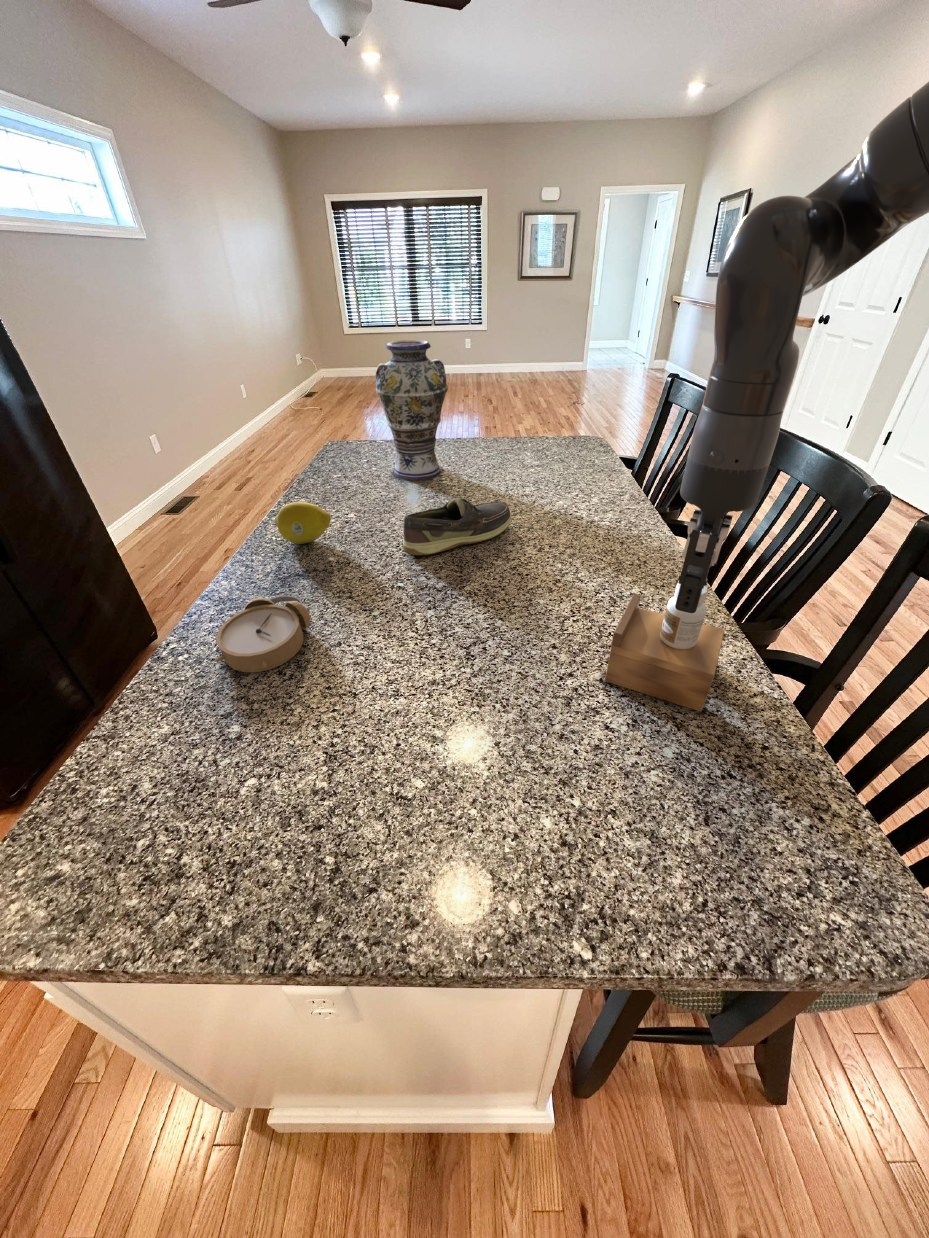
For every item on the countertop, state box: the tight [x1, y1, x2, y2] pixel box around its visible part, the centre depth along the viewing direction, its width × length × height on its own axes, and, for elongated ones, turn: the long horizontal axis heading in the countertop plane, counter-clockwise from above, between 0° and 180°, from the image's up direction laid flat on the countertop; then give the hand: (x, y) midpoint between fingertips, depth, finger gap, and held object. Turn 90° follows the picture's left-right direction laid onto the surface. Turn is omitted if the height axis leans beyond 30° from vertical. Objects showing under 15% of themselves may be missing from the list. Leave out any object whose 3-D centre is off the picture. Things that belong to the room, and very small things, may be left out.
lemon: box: [274, 501, 331, 545], centre depth 100 cm, size 11×8×8 cm
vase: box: [374, 339, 449, 481], centre depth 126 cm, size 17×17×30 cm
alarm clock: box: [215, 595, 312, 673], centre depth 75 cm, size 11×5×15 cm
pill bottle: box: [660, 582, 709, 649], centre depth 62 cm, size 4×4×8 cm
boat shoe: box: [402, 497, 513, 556], centre depth 100 cm, size 9×25×8 cm, turn 130°
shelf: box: [604, 593, 726, 712], centre depth 66 cm, size 12×10×8 cm
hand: (691, 592), depth 61 cm, fingers open, 8 cm apart
